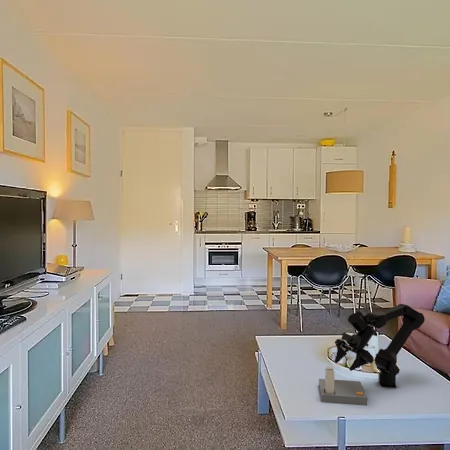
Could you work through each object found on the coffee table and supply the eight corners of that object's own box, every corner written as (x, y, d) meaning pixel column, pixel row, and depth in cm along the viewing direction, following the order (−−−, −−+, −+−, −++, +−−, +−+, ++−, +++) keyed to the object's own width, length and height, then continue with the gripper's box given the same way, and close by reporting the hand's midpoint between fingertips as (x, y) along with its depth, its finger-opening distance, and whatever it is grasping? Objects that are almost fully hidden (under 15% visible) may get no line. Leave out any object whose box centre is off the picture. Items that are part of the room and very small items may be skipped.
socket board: (360, 387, 177) (360, 379, 177) (367, 405, 162) (367, 395, 161) (318, 385, 180) (318, 376, 180) (321, 401, 164) (321, 392, 164)
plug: (333, 397, 169) (333, 366, 168) (334, 400, 165) (334, 369, 165) (325, 396, 169) (325, 365, 169) (325, 400, 166) (326, 368, 165)
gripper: (338, 320, 180) (318, 348, 176) (368, 332, 163) (347, 362, 159) (351, 335, 183) (332, 363, 179) (382, 348, 167) (362, 378, 162)
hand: (342, 366), depth 170 cm, fingers open, 9 cm apart
